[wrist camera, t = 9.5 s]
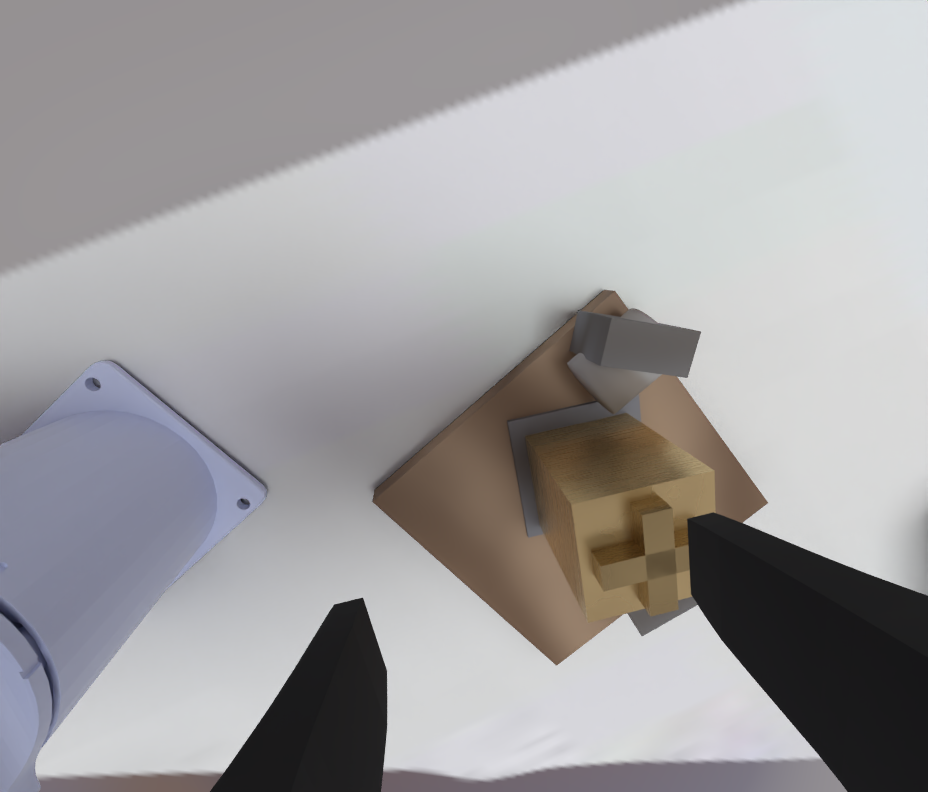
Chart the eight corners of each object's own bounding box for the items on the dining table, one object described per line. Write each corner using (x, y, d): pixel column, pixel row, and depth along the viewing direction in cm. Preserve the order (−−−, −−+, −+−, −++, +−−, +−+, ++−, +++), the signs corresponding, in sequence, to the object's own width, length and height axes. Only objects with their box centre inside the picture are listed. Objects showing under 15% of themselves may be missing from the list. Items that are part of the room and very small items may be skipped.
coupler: (634, 503, 19) (732, 606, 13) (539, 526, 19) (596, 641, 13) (626, 412, 18) (730, 481, 12) (524, 436, 18) (580, 517, 12)
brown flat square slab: (550, 649, 23) (578, 725, 19) (368, 484, 19) (356, 538, 15) (760, 486, 21) (836, 532, 17) (608, 274, 17) (662, 274, 14)
